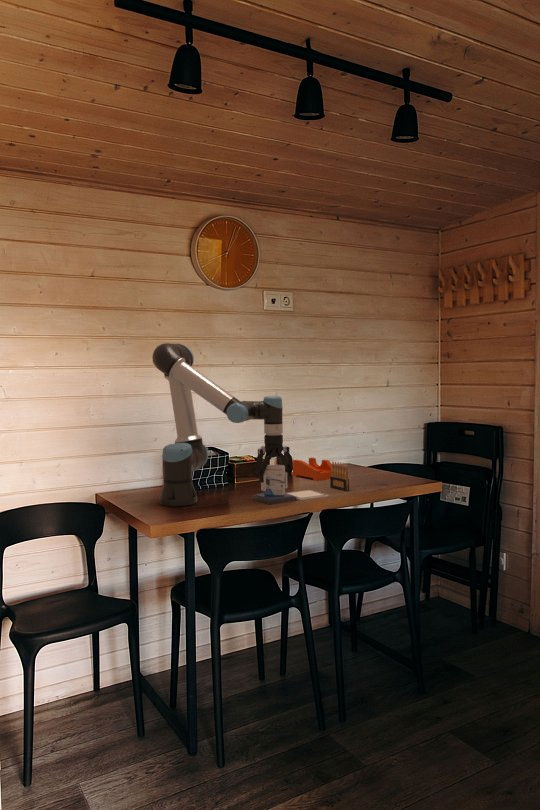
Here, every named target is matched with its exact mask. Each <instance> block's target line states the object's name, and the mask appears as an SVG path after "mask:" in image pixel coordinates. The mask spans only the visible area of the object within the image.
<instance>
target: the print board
mask: <svg viewBox="0 0 540 810" xmlns="http://www.w3.org/2000/svg"><path fill="white" fill-rule="evenodd" d="M285 493H286V494H289V495H292V496H295V497H296V500H298V501H305V500H312V499H318V498H319V499H320V498H327V497H329V496H330V495H329V494H326V493H323V492H320V491H315V490H313V489H305V490H297V491H296V490H295V491H289V492H285Z"/></svg>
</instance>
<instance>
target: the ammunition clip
mask: <svg viewBox="0 0 540 810" xmlns="http://www.w3.org/2000/svg"><path fill="white" fill-rule="evenodd" d="M331 464H332V469H331V477H330V479H329V481H330V483H329V484H330V488H331V489H334V490H339V491H343V492H350V479H349V472H348V464H347V463H344V462H339V461H338V462H337V461H331Z"/></svg>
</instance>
